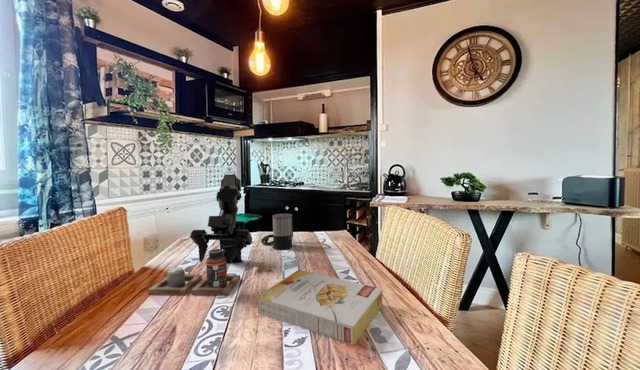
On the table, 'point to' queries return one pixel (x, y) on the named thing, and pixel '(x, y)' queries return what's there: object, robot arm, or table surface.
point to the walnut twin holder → (198, 289)
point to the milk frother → (281, 232)
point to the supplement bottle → (216, 269)
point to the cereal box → (322, 304)
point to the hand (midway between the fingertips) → (215, 261)
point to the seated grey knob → (176, 277)
